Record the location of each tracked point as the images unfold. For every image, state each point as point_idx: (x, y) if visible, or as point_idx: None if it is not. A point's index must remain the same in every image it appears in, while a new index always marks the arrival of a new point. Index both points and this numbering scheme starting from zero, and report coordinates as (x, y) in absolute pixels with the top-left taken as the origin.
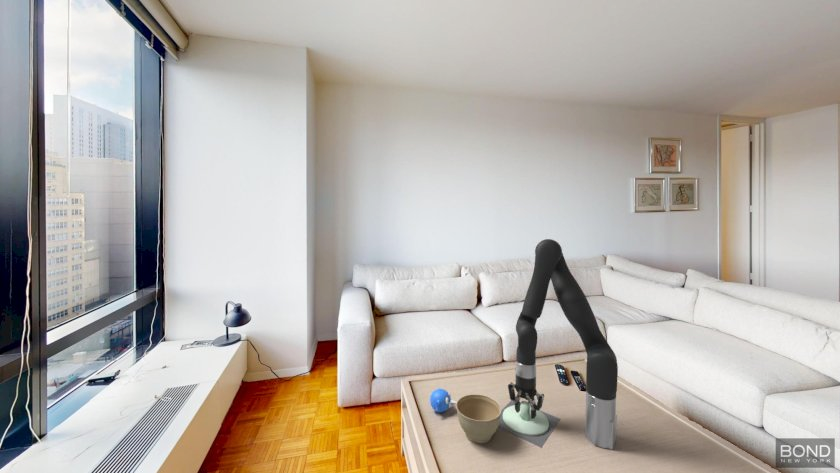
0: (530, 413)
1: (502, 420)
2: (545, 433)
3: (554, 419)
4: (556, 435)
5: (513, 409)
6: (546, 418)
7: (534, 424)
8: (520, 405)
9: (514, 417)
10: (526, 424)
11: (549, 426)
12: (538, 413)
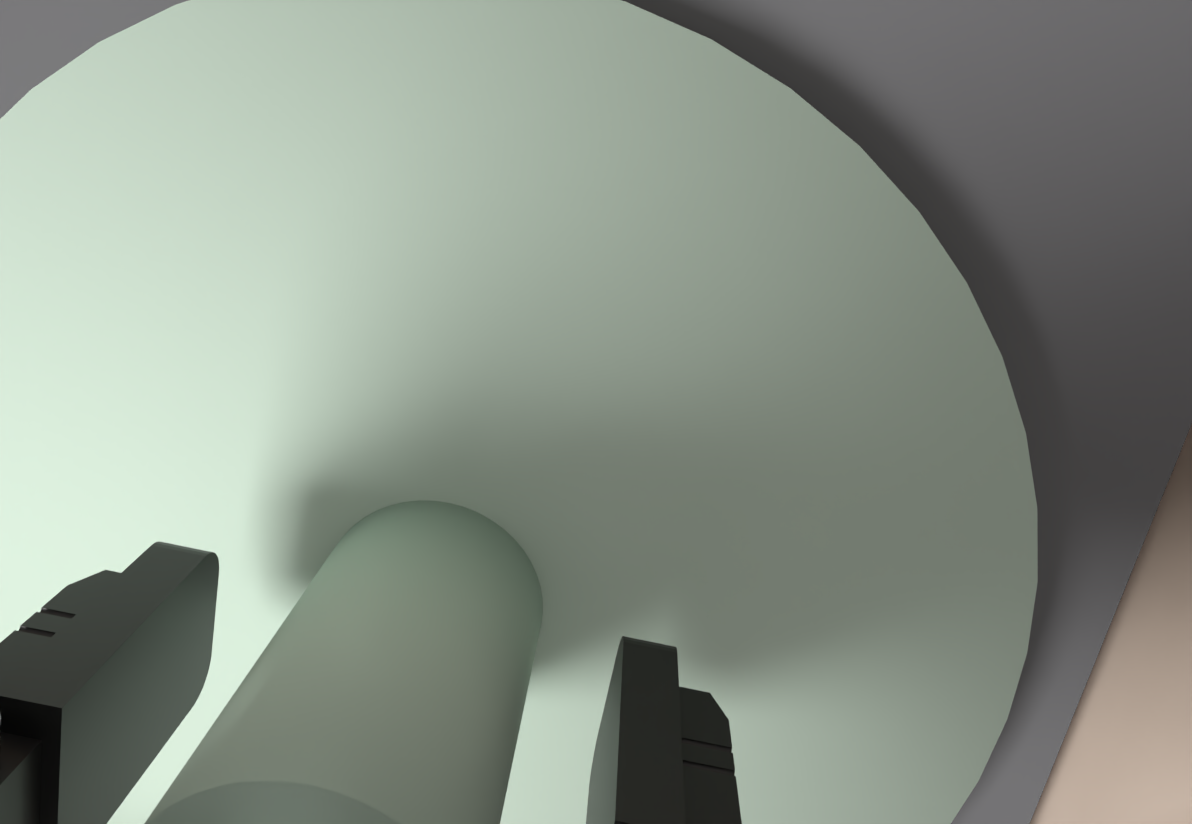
0: (506, 342)
1: None
2: None
3: (1168, 160)
4: (1176, 702)
5: (35, 378)
6: (967, 353)
7: None
8: (125, 69)
9: None
10: (521, 811)
11: None
12: (720, 219)
